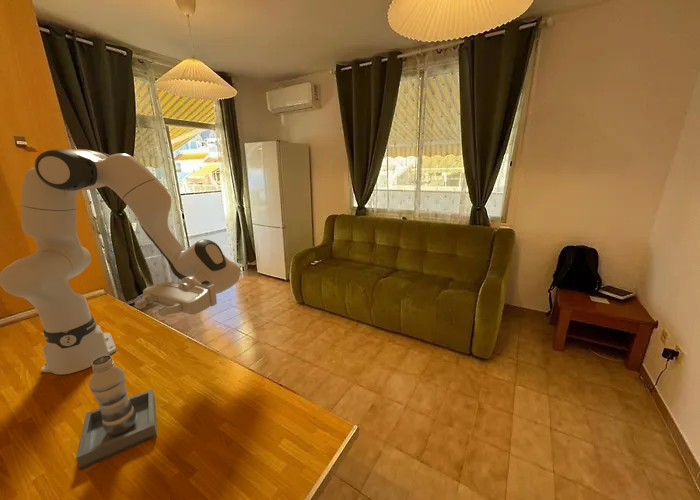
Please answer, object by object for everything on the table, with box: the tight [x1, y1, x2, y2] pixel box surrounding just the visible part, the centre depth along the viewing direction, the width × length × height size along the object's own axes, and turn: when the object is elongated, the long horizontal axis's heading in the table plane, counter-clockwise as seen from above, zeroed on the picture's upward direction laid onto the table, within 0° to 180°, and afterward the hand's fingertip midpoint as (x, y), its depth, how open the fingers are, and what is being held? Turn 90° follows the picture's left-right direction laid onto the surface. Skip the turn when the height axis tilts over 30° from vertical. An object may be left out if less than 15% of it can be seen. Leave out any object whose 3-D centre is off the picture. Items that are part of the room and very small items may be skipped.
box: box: [75, 388, 158, 470], centre depth 71 cm, size 14×14×4 cm
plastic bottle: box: [88, 354, 136, 435], centre depth 68 cm, size 6×7×20 cm
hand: (148, 309), depth 74 cm, fingers open, 8 cm apart
